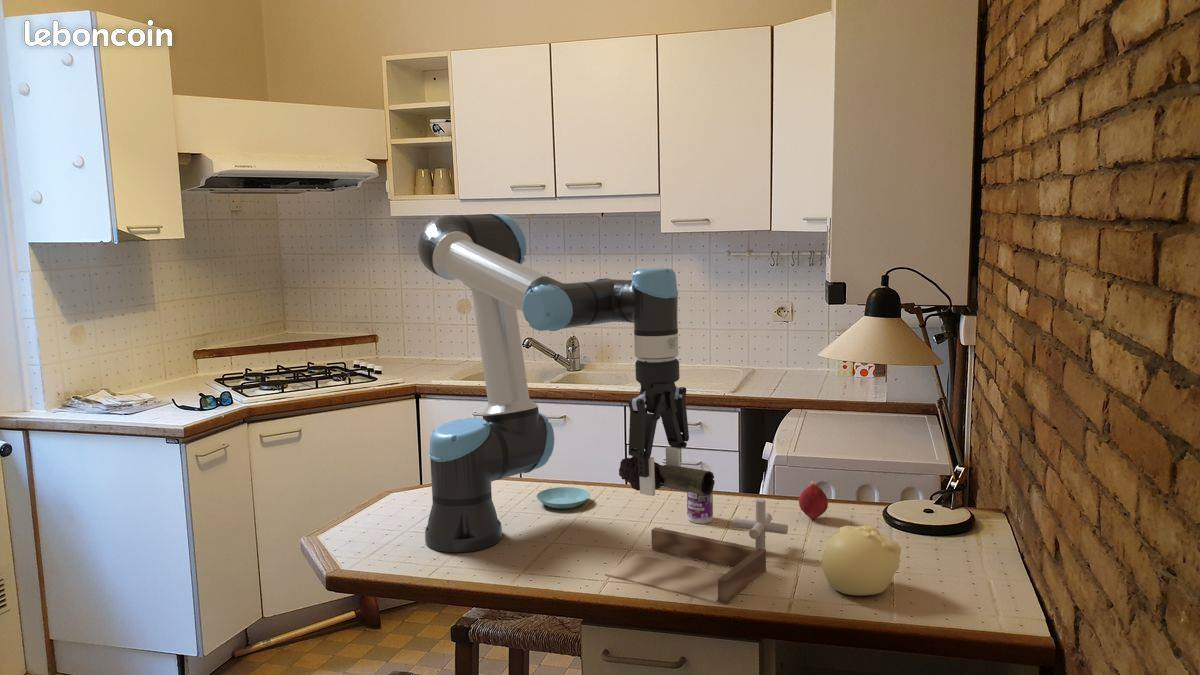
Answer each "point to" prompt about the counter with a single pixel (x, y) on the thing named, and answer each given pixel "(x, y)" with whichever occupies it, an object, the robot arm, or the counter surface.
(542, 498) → the saucer
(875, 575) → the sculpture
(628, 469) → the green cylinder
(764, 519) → the pipe connector
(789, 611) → the counter surface
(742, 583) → the corner wall
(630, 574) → the mat
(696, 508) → the pill bottle
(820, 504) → the onion
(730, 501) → the counter surface
